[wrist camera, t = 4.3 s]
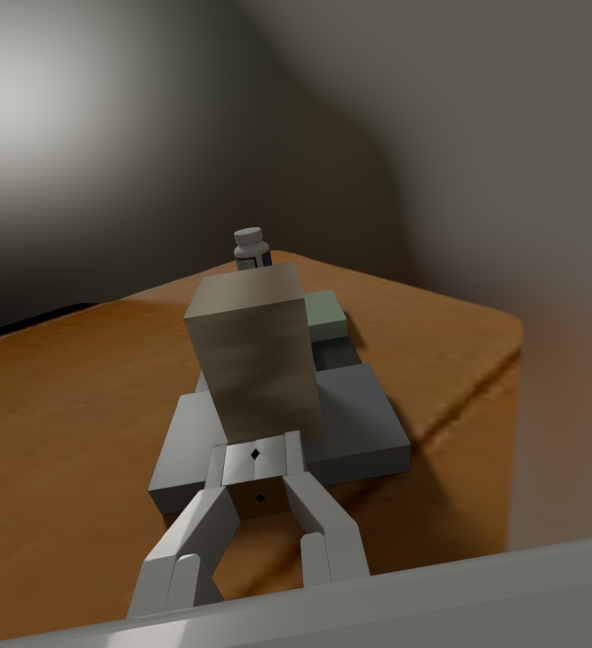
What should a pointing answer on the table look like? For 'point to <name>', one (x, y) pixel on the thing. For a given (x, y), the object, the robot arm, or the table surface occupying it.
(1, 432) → the table surface
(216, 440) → the board
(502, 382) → the table surface
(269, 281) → the birch block
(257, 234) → the pill bottle
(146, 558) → the robot arm
